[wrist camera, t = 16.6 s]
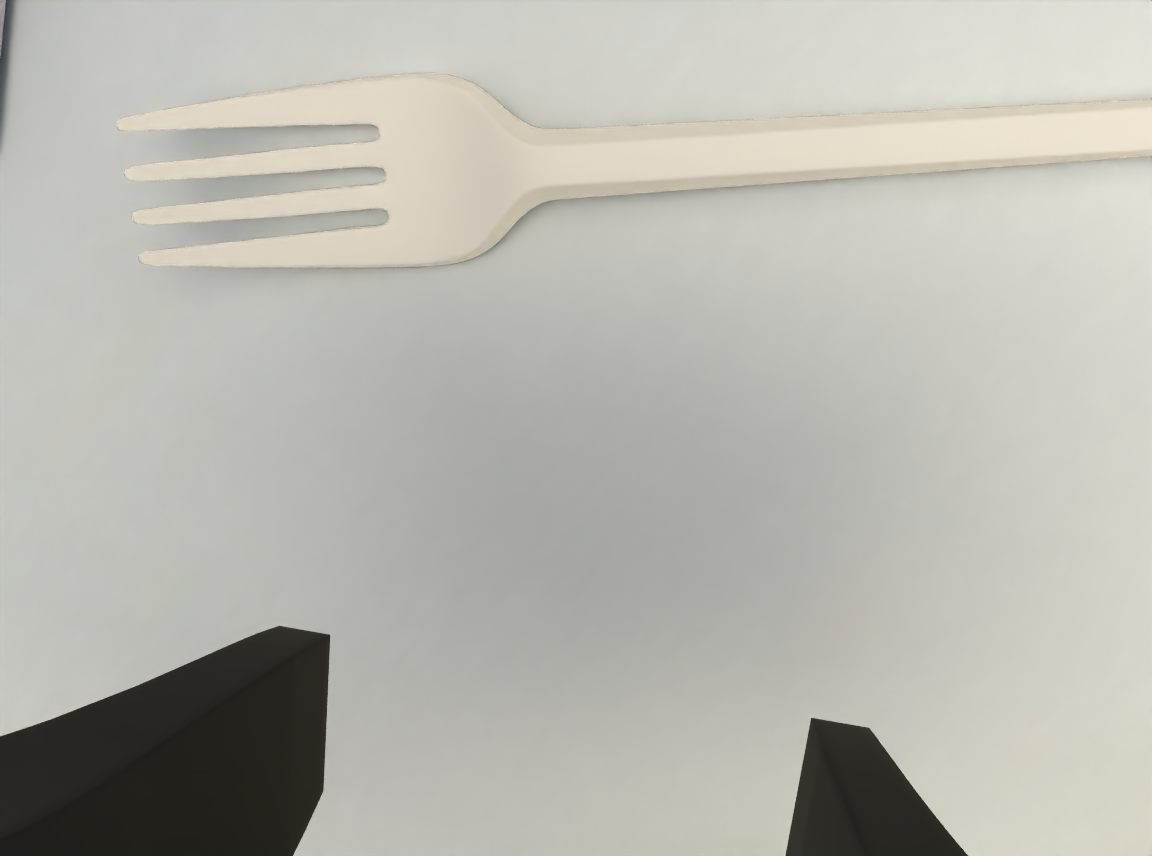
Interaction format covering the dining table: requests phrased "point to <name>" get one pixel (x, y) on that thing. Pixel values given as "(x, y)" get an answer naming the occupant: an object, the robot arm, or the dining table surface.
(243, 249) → the fork
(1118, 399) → the dining table surface
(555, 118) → the dining table surface
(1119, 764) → the dining table surface
